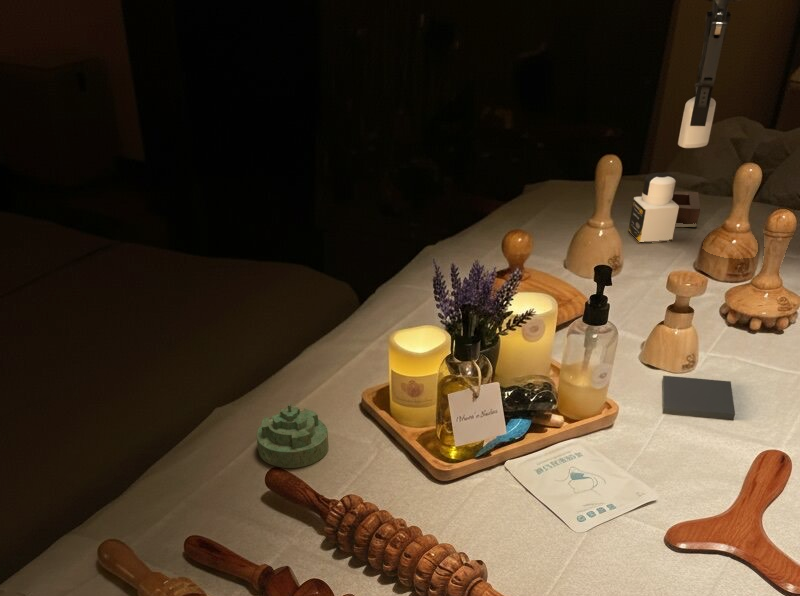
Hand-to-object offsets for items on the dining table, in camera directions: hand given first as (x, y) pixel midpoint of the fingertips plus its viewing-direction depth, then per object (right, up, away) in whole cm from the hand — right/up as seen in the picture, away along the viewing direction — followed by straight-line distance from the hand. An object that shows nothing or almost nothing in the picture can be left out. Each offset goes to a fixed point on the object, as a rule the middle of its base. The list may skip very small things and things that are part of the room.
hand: (697, 121), depth 165 cm
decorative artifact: (-73, -69, -41) cm, 109 cm away
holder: (+3, -8, +24) cm, 26 cm away
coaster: (-13, -60, -34) cm, 71 cm away
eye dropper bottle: (0, -3, +3) cm, 4 cm away
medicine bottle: (-4, -15, +17) cm, 23 cm away
